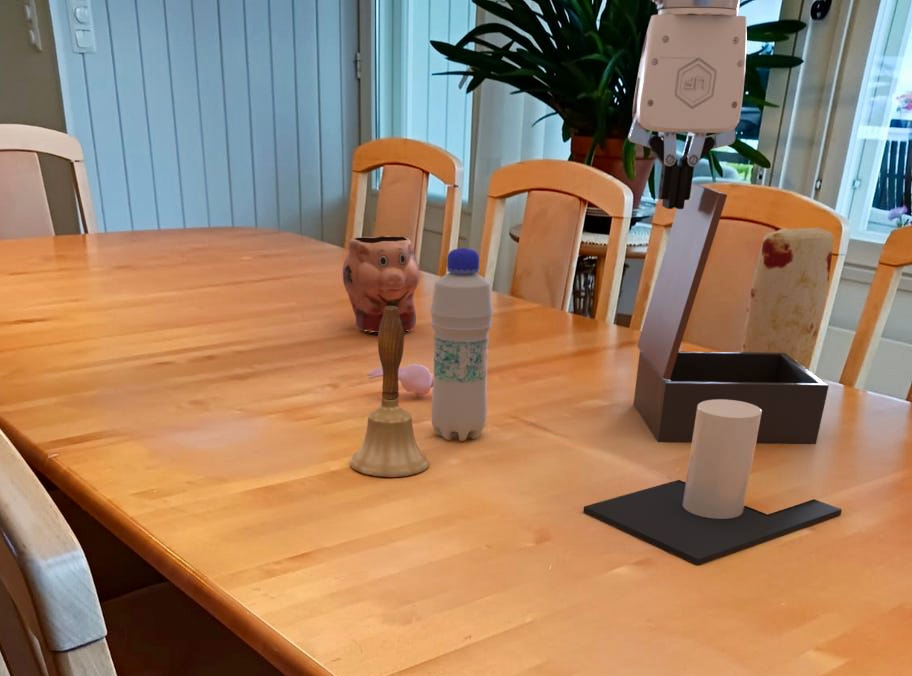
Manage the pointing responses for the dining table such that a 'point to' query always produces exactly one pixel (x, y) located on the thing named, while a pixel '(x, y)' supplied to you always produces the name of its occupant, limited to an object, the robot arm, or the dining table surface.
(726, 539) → the mat
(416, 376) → the rabbit figure
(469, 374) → the bottle
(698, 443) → the tall white cylinder
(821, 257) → the food model
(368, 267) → the decorative planter
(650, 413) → the hinged jewelry box
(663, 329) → the open box lid
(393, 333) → the hand bell
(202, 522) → the dining table surface
